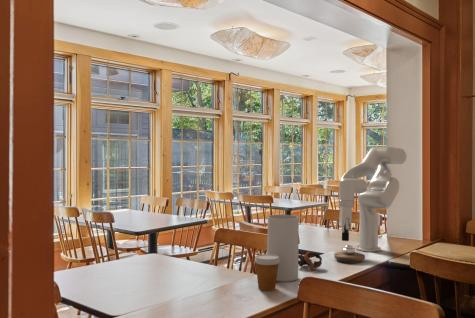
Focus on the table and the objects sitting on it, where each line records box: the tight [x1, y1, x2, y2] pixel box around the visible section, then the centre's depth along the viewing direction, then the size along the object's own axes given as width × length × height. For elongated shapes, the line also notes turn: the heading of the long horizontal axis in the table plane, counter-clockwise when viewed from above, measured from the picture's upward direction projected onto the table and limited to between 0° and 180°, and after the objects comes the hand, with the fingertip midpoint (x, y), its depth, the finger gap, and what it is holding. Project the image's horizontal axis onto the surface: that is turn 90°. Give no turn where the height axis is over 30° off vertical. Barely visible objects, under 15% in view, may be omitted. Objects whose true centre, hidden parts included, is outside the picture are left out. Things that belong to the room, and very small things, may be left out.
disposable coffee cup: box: [253, 253, 280, 292], centre depth 173 cm, size 10×10×12 cm
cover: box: [341, 244, 356, 255], centre depth 222 cm, size 6×6×4 cm
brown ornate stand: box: [298, 251, 323, 272], centre depth 204 cm, size 12×10×8 cm
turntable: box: [334, 251, 366, 264], centre depth 219 cm, size 14×14×3 cm
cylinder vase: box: [266, 214, 300, 283], centre depth 187 cm, size 12×12×25 cm
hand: (345, 240), depth 229 cm, fingers closed
